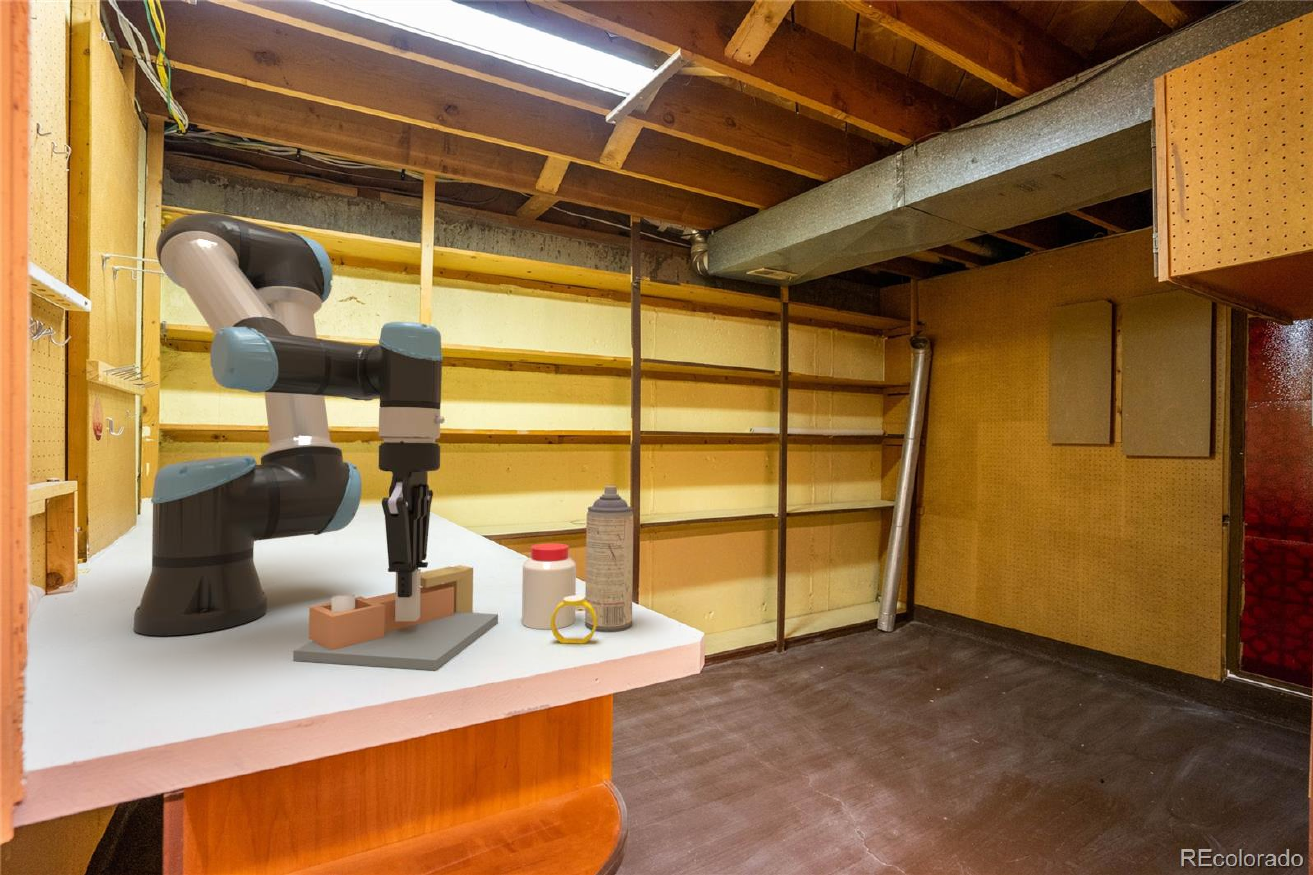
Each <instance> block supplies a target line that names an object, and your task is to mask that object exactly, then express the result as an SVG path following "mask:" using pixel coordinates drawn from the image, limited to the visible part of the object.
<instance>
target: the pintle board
mask: <svg viewBox="0 0 1313 875" xmlns="http://www.w3.org/2000/svg"><path fill="white" fill-rule="evenodd" d="M440 584H445V585H448V586H452V587H454V615H451V616H447V617H443V618H440V619H436V620H432V621H428V622H424V623H420V624H416V625H412V626H408V627H404V628H401V629H397V630H393V631H389V632H385V633H384V637H381V638H377V639H373V640H369V641H365V642H361V643H358V644H354V645H350V646H346V647H342V648H338V649H335V650H330V649H328V648H326V647H324V646H322V645H320V644H319V643H317V642H315V641H313V640H312V641H311V642H309V643H307V644H305V645H302V646H300V647H298V648H296V649H294V650H293V654H292V655H293V659H292V661H294V662H305V663H319V664H320V663H322V664H333V665H335V664H336V665H351V666H361V667H362V666H363V667H364V666H367V667H378V668H379V667H380V668H391V669H392V668H394V669H409V670H423V671H435V672H436V671H437V670H438V669H439V668H441V667H442V666H444V665H445V664H446V663H448V662H449V661H450V660H451V659H453V658H454V657H455V656H457V655H458V654H459V653H460V652H462V651H463V650H464V649H466V648H467V647H468V646H469V645H471V644H472V643H474V642H475V641H477V639H479V638H480V637H481V636H483V635H484V634H485V633H486V632H487V631H489V630H490V629H492V627H494V626H496V625H497V624H498V623H499V614H498V613H483V612H481V613H480V612H473V610H474V602H473V601H474V567H473V566H472V567H471V566H466V565H462V564H459V565H456V566H455V565H454V566H446V567H445V566H444V567H441V568H435V569H432V570H431V569H430V570H426V571H421V578H420V587H426V588H427V587H431V586H435V585H440ZM355 598H356V595H355V594H352V593H351V594H350V593H348V594H347V593H345V594H337V595H334V596H332V597H331V602H332V604H331V611H333V612H335V613H341V612H345V611H350V610H355ZM452 657H453V658H452ZM443 664H444V665H443Z"/></svg>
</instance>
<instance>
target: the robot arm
mask: <svg viewBox="0 0 1313 875" xmlns="http://www.w3.org/2000/svg"><path fill="white" fill-rule="evenodd" d="M155 251H156V258H157V260H158V263H159V266H160V268H162V271H163V272H164V274H165V275H166V276H167V277H168V279H169V280H170V281H172V283H173V284H176V285H177V286H178V287H180V288H182V289H184V290H185V292H186V293H187V294H188V296H189V298H190V300H191V301H192V303H193V304H194V305H195V307H196V308H197V310H198V311H199V313H200V315H201V316H202V317H203V320H204V321H205V322H206V324H207V325H208V328H210V330H211V331H212V333H213V335H214V337H213V339H212V341H211V346H210V354H209V355H210V356H209V359H210V360H209V361H210V367H211V370H212V376H213V379H214V380H215V382H216V383H217V384H218V385H220V386H221V387H223V388H225V389H231V390H239V391H247V392H248V393H253V394H254V393H258V394H260V393H264V400H265V409H266V419H267V428H268V436H269V447H268V449H266V450H265V451H264V453H262V454H261V456H260V464H257V461H256V459H255V456H252V455H234V456H225V457H223V456H221V457H219V456H218V457H210V458H201V459H193V460H187V461H181V462H175V463H170V464H167V465H164V466H163V467H161V468H160V469H159V470H157V472H156V474H155V475H154V479H153V480H154V481H153V490H152V497H151V501H150V502H151V503H152V540H151V541H152V544H151V548H152V549H151V558H152V559H151V571H150V576H149V578H148V581H147V583H146V586H145V588H144V591H143V595H142V598H141V601H140V604H139V606H137V607H136V610H135V611H134V614H133V615H134V616H133V630H134V632H136V633H137V634H142V635H148V636H179V635H180V636H181V635H191V634H199V633H206V632H212V631H217V630H222V629H227V628H232V627H235V626H239V625H242V624H243V625H244V624H246V623H248V622H249V623H250V622H252V621H255V620H256V619H258V618H261V617H263V616H264V615H265V614H266V612H267V606H268V604H267V603H268V602H267V600H268V598H267V594H266V592H265V591H263V588H262V584H261V581H260V577H259V574H258V571H257V569H256V566H255V561H254V547H255V546H254V545H255V542H256V541H264V540H265V541H266V540H272V539H273V540H274V539H275V540H276V539H281V538H282V539H284V538H290V537H292V538H293V537H298V536H299V537H300V536H307V535H308V536H309V535H314V536H319V535H322V534H324V533H331V532H337V531H340V530H343V529H345V528H346V527H347V526H348V525H349V524H350V523H351V522H352V521H353V520H354V518H355V516H356V514H357V511H358V509H359V507H360V503H361V499H362V490H363V489H362V487H363V485H362V476H361V474H360V473H361V472H360V470H359V469H358V468H357V466H356V465H355V464H354V463H352V462H349V461H344V459H343V458H344V457H343V451H342V448H341V447H340V446H338V445H337V444H335V443H334V442H332V441H331V438H330V436H331V435H330V430H329V424H328V423H329V422H328V416H327V415H328V414H327V406H326V399H325V397H336V398H345V399H346V398H347V399H350V400H352V401H353V400H354V401H364V402H368V401H372V400H377V399H378V400H379V409H378V437H379V438H380V439H383V442H380V445H378V469H379V470H380V471H383V472H391V474H392V476H391V482H390V486H389V489H388V497H383V498H382V499H381V506H382V510H383V515H384V522H385V523H384V524H385V536H386V547H387V561H388V562H387V563H388V568H387V571H388V573H395V592H396V594H395V621H417V620H418V619H419V618H420V587H421V586H420V578H421V572H422V571H421V568H423V569H424V568H428V565H429V562H428V561H427V562H426V559H427V552H428V539H429V528H430V520H431V519H430V518H431V517H430V516H431V507H432V501H433V498H434V491H433V489H430V486H429V484H428V481H427V480H428V479H427V473H426V472H436V471H438V470H439V469H441V468H440V467H441V445H439V443H436V439H437V440H438V439H439V438H440V437H441V424H443V423H445V417H444V416H441V405H442V404H441V403H442V381H443V380H442V376H443V375H442V374H443V359H444V356H443V354H442V335H441V332H440V330H438V329H437V328H436V327H435V326H432V325H430V324H426V323H421V322H412V321H391V322H386V323H385V324H383V325H382V327H381V330H380V335H379V338H378V339H379V340H378V343H379V344H373V345H372V344H371V345H368V344H359V343H352V342H345V341H339V340H338V341H336V340H330V339H322V338H317V331H316V322H315V314H316V313H318V311H320V310H321V308H322V305H323V303H325V302H326V301H327V299H328V298H329V297H330V294H331V291H332V288H333V286H332V283H331V282H332V281H333V279H334V278H333V267H332V263H331V260H330V257H329V254H328V253H327V251H326V249H325V247H323V246H322V245H321V244H320V243H319V242H318V241H316V240H314V239H313V238H309V237H306V236H303V235H301V234H299V233H296V232H293V231H284V230H281V229H276V228H273V227H269V226H266V225H263V224H259V223H255V222H252V221H247V220H244V219H241V218H237V217H233V216H231V215H227V214H222V213H215V212H198V213H192V214H188V215H184V216H182V217H179V218H177V219H175V220H173V221H172V222H170V223H169V224H168V225H166V226H165V227H164V229H163V230H162V231H161V233H160V234H159V236H158V238H157V241H156V246H155ZM424 561H425V562H424Z"/></svg>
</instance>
